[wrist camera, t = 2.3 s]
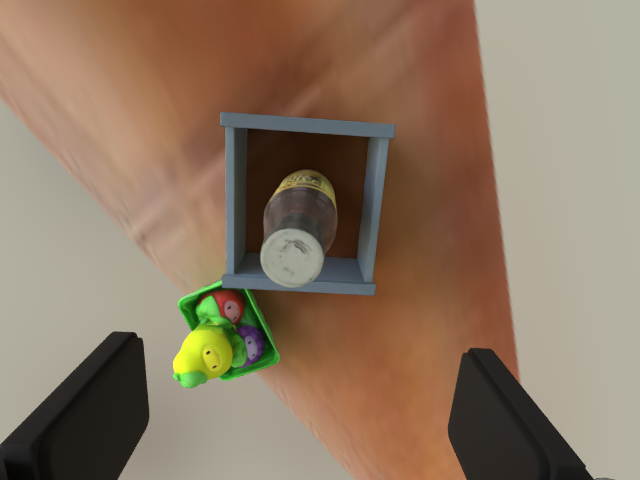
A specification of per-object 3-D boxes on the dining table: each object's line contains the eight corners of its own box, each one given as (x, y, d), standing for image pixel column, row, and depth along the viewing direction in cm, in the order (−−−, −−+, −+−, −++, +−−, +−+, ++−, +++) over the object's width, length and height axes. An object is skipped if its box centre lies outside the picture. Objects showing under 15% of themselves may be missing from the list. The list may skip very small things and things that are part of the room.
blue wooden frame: (236, 260, 44) (221, 287, 36) (237, 114, 39) (219, 111, 32) (364, 268, 44) (375, 295, 37) (380, 124, 39) (396, 124, 32)
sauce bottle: (321, 158, 40) (329, 187, 21) (342, 210, 42) (367, 279, 23) (266, 182, 41) (227, 230, 22) (289, 231, 43) (272, 316, 24)
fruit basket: (285, 337, 47) (278, 400, 36) (222, 360, 48) (196, 429, 37) (247, 259, 44) (226, 302, 33) (180, 285, 44) (138, 336, 34)
